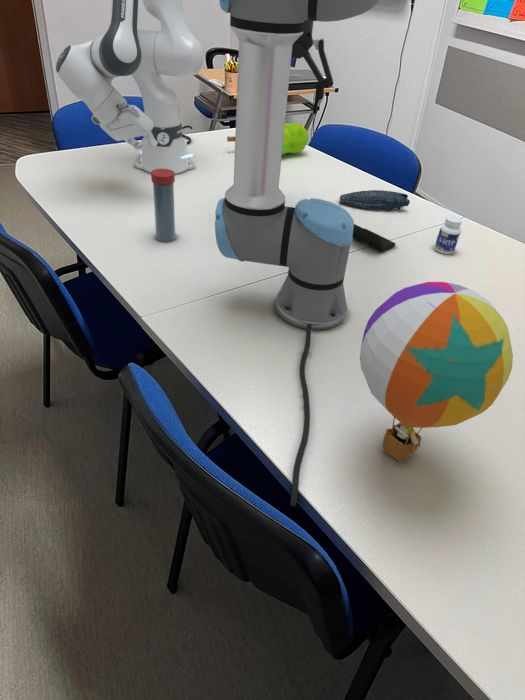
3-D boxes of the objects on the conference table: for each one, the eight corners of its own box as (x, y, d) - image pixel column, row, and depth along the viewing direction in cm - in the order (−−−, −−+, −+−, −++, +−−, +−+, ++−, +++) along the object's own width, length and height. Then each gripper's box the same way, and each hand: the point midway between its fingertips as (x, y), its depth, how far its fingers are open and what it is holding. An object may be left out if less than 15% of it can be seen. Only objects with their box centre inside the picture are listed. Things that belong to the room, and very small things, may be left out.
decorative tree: (224, 117, 189) (303, 117, 195) (224, 146, 196) (301, 145, 201) (231, 131, 176) (316, 130, 181) (230, 162, 182) (313, 160, 188)
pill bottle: (433, 251, 139) (442, 220, 133) (435, 243, 143) (444, 213, 137) (453, 256, 138) (464, 225, 132) (454, 247, 142) (465, 217, 136)
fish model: (408, 214, 157) (412, 198, 153) (339, 207, 158) (341, 191, 154) (406, 206, 162) (410, 190, 159) (339, 199, 163) (341, 183, 160)
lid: (165, 174, 128) (164, 166, 127) (179, 181, 125) (179, 173, 124) (146, 179, 124) (146, 171, 123) (161, 187, 122) (160, 178, 120)
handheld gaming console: (399, 237, 140) (392, 215, 132) (388, 260, 139) (379, 239, 130) (362, 229, 146) (352, 207, 138) (350, 250, 145) (340, 230, 137)
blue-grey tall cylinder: (167, 231, 137) (164, 169, 127) (179, 238, 134) (177, 175, 124) (152, 236, 134) (148, 173, 124) (164, 243, 131) (161, 179, 121)
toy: (311, 442, 83) (343, 281, 64) (387, 392, 94) (434, 241, 75) (410, 529, 72) (484, 365, 53) (484, 461, 83) (567, 304, 64)
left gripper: (134, 92, 132) (171, 134, 141) (101, 104, 147) (137, 141, 156) (120, 111, 131) (159, 152, 140) (89, 121, 146) (125, 157, 155)
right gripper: (351, 16, 123) (337, 111, 137) (248, 5, 125) (244, 100, 139) (351, 20, 118) (336, 118, 131) (243, 8, 119) (238, 107, 133)
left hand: (147, 146), depth 148 cm, fingers open, 8 cm apart
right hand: (288, 109), depth 135 cm, fingers open, 13 cm apart
